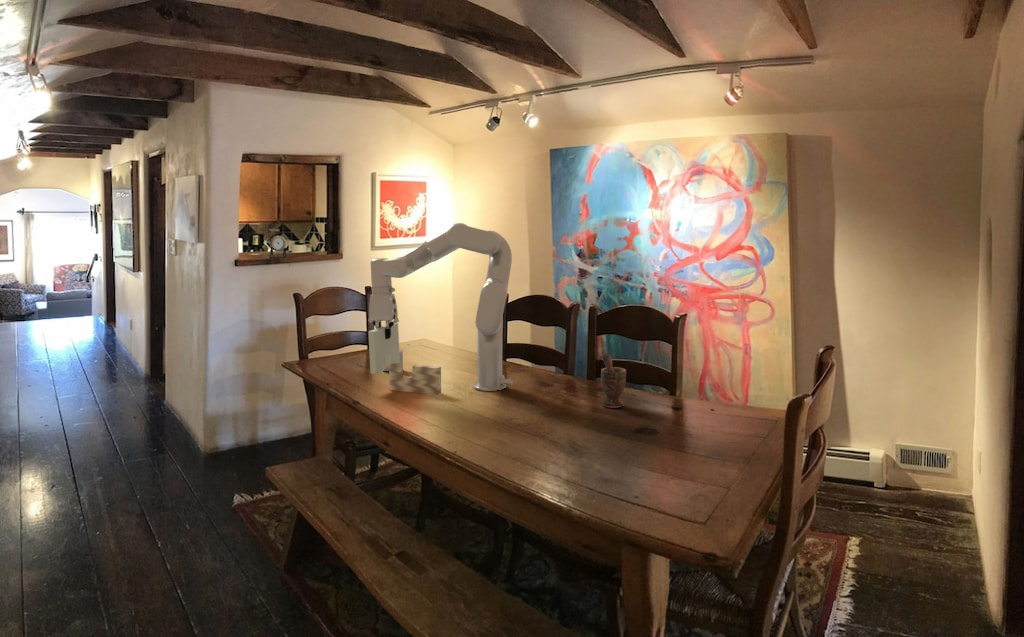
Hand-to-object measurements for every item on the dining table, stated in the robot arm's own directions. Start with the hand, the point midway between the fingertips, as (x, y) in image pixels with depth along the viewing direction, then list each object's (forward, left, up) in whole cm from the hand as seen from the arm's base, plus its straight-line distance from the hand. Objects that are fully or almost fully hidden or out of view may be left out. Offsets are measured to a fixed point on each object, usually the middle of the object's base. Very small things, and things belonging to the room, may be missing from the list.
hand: (384, 338), depth 256 cm
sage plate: (0, 0, -12) cm, 12 cm away
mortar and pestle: (-88, +3, -19) cm, 91 cm away
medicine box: (+9, -24, -19) cm, 32 cm away
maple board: (-14, +4, -19) cm, 24 cm away
